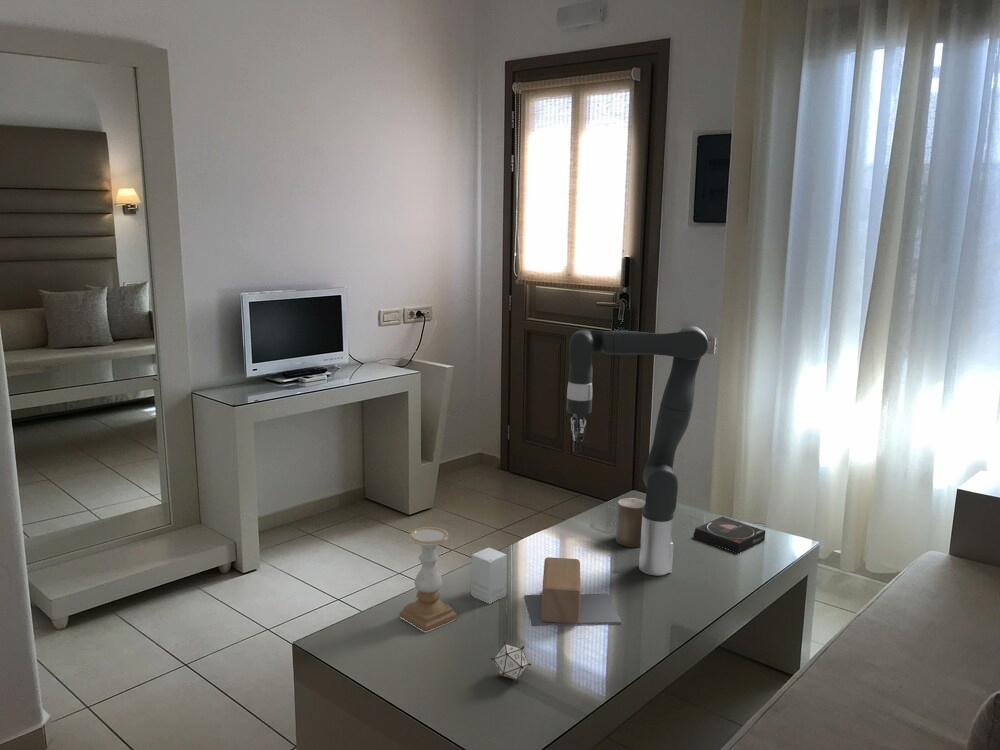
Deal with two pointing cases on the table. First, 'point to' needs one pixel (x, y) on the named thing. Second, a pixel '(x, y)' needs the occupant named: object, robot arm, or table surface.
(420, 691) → the table surface
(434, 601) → the candle holder
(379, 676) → the table surface
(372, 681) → the table surface
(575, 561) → the block
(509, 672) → the game die
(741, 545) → the portable cd player
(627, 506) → the pillar candle
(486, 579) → the supplement box
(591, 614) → the mat
